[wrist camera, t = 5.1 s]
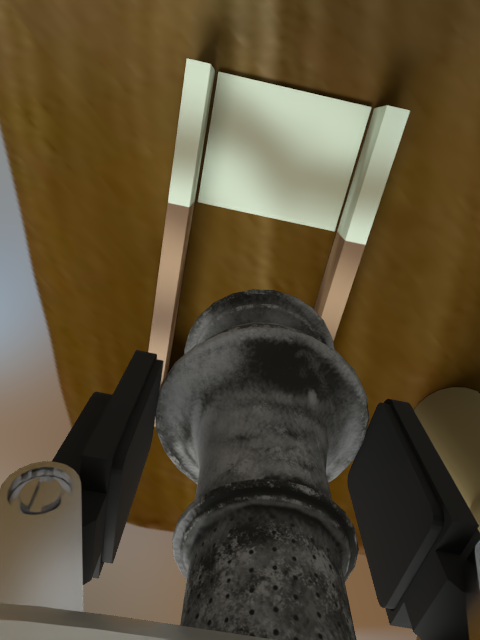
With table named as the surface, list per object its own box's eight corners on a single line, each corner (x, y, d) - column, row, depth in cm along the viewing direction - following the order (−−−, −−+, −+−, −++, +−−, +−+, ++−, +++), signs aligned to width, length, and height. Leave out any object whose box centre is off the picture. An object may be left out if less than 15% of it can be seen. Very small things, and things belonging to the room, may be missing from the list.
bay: (193, 66, 23) (182, 52, 19) (394, 113, 23) (421, 108, 20) (149, 389, 31) (135, 423, 27) (297, 417, 32) (303, 453, 28)
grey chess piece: (213, 442, 16) (135, 1071, 5) (148, 313, 14) (-207, 943, 3) (361, 401, 15) (626, 1070, 4) (316, 255, 13) (632, 884, 2)
